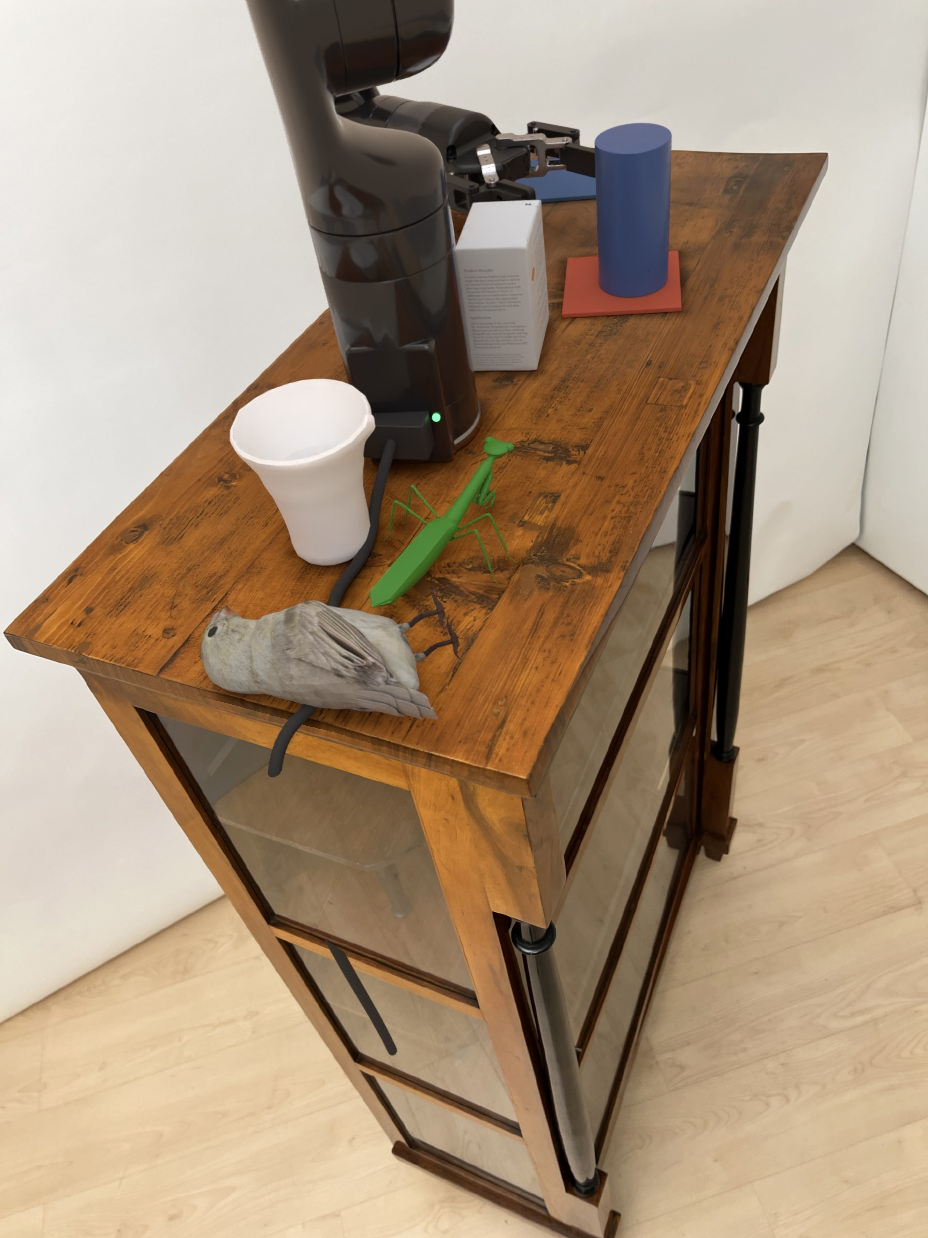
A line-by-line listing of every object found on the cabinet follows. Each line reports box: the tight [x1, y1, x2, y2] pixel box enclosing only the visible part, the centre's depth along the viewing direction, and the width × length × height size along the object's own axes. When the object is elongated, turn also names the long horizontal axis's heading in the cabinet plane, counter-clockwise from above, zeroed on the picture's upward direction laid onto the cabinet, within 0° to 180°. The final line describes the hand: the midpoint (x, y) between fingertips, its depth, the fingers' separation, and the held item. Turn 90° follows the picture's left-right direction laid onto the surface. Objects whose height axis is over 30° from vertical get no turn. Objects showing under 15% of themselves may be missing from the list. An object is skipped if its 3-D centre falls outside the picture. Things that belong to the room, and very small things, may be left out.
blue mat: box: [515, 158, 596, 204], centre depth 100 cm, size 10×10×1 cm
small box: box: [456, 200, 550, 372], centre depth 75 cm, size 8×6×10 cm
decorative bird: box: [200, 582, 463, 721], centre depth 54 cm, size 5×16×7 cm
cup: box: [229, 378, 375, 566], centre depth 61 cm, size 9×9×10 cm
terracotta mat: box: [561, 250, 683, 319], centre depth 83 cm, size 10×10×1 cm
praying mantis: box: [368, 436, 516, 608], centre depth 61 cm, size 9×15×4 cm, turn 145°
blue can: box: [594, 122, 673, 297], centre depth 79 cm, size 6×6×12 cm
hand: (567, 182), depth 82 cm, fingers open, 8 cm apart
